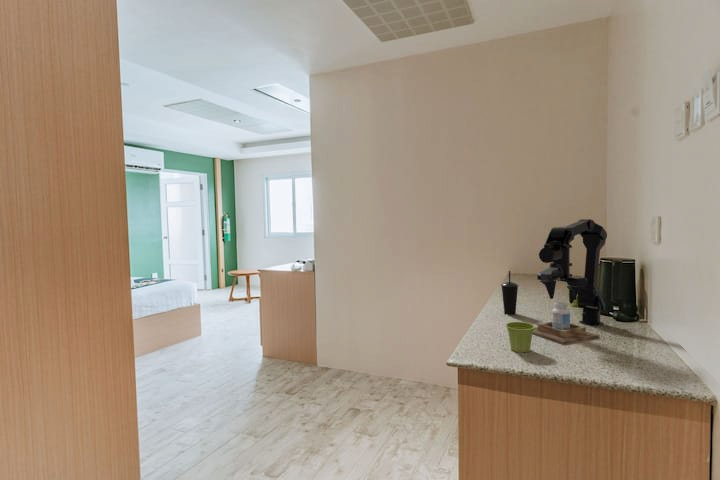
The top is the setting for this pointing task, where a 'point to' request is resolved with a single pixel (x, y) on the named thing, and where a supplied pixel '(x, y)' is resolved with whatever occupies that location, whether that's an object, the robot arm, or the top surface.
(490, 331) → the top surface
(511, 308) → the drinking cup
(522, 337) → the plant pot
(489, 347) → the top surface
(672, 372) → the top surface
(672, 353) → the top surface
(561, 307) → the pill bottle
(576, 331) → the holder
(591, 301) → the robot arm
